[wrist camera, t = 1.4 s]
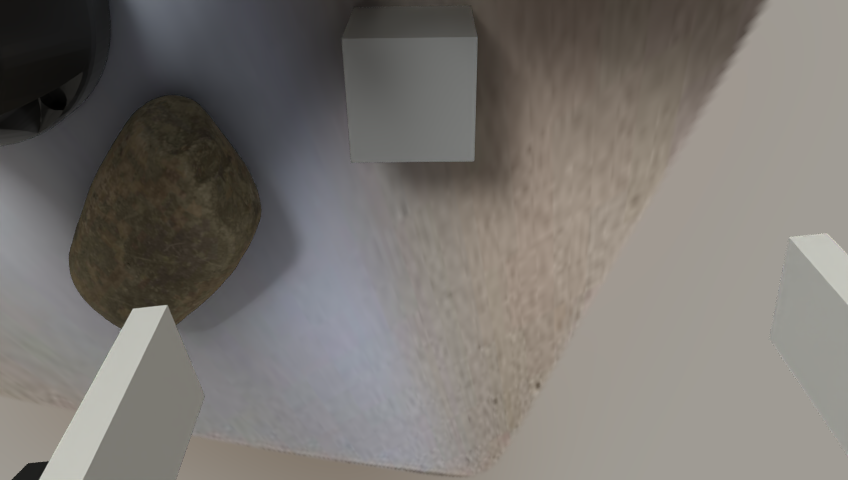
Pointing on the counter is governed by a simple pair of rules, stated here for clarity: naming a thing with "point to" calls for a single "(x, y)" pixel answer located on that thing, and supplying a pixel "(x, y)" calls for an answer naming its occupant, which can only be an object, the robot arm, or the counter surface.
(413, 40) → the gray cube
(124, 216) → the stone
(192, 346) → the counter surface
